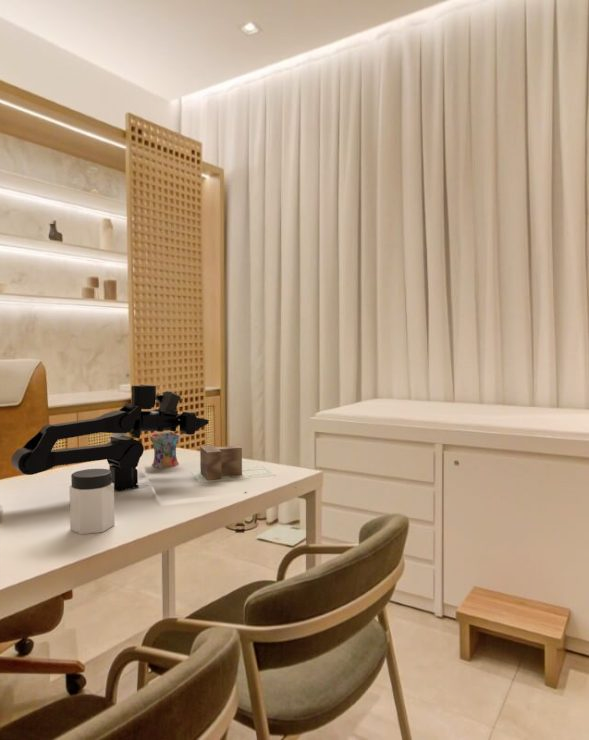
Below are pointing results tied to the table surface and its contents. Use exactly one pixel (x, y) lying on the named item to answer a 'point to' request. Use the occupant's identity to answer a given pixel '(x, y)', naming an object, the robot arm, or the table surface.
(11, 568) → the table surface
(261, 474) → the board
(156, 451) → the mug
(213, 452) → the t block
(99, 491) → the jar
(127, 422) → the robot arm
